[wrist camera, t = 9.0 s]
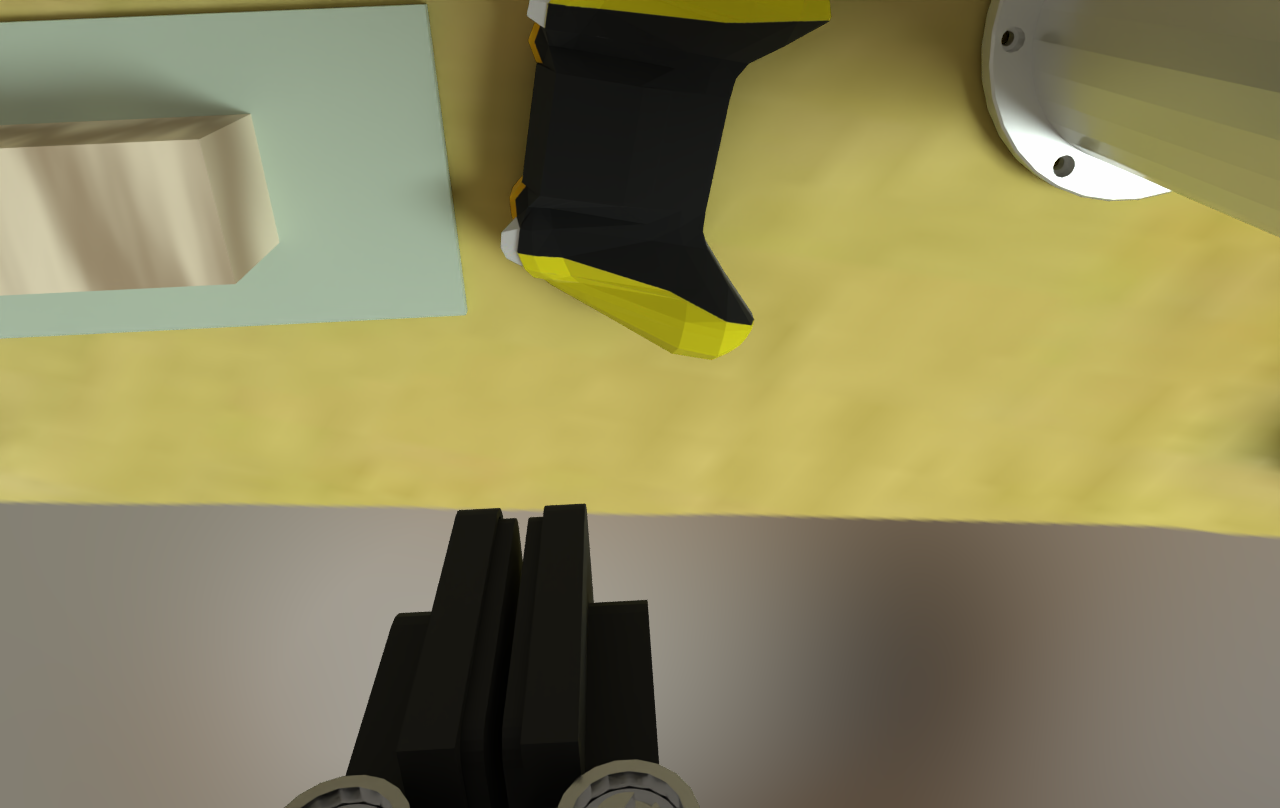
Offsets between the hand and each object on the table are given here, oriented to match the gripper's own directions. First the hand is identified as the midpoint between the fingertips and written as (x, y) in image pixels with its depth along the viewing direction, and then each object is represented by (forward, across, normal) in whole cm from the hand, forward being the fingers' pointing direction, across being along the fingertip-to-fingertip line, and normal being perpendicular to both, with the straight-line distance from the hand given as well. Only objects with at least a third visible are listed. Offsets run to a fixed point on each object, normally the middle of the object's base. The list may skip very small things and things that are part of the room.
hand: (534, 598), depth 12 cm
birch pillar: (+24, +12, 0) cm, 27 cm away
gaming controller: (+27, -3, -1) cm, 27 cm away
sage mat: (+27, +15, 0) cm, 31 cm away
